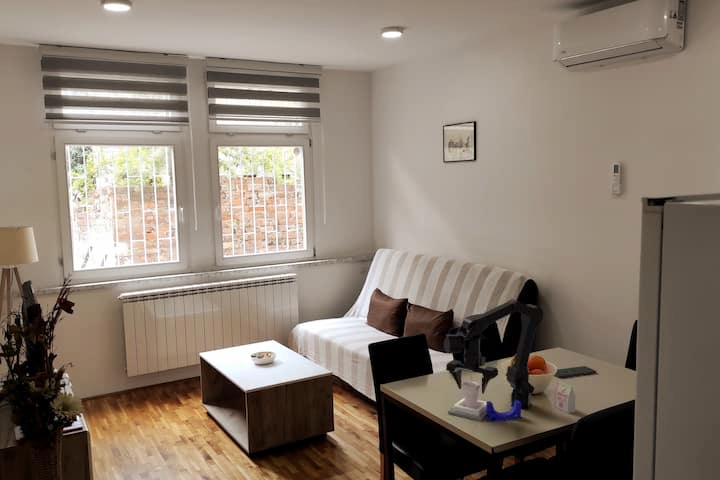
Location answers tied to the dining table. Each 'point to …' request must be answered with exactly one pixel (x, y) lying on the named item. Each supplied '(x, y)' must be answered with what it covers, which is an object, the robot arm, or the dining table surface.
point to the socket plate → (469, 410)
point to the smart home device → (574, 372)
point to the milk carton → (564, 398)
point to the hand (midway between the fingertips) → (471, 391)
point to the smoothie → (471, 393)
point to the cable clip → (511, 414)
